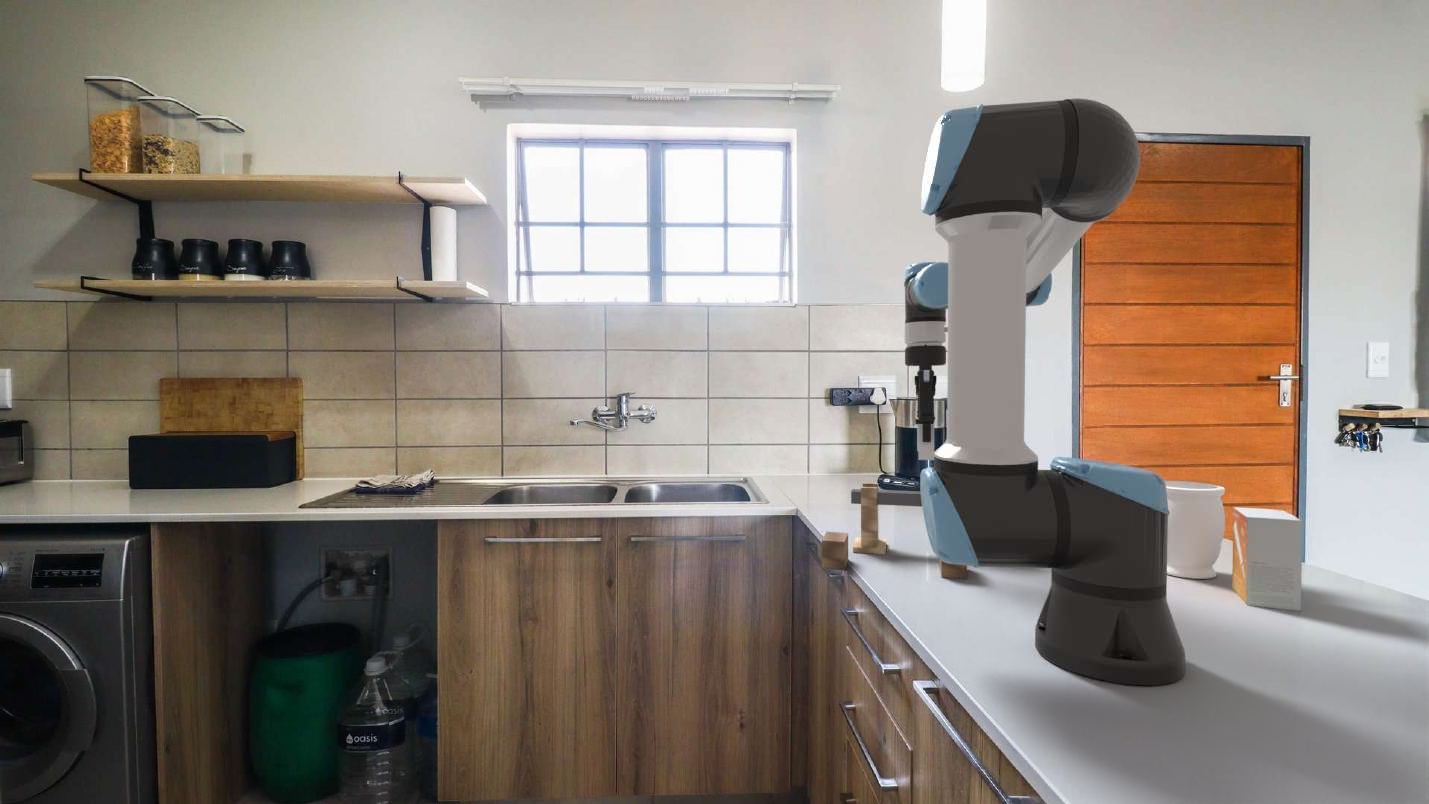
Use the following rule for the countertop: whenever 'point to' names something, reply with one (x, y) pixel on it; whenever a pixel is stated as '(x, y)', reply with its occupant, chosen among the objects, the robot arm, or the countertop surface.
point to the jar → (1194, 528)
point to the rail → (891, 497)
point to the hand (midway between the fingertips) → (925, 455)
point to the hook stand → (869, 522)
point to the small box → (1267, 558)
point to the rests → (838, 556)
